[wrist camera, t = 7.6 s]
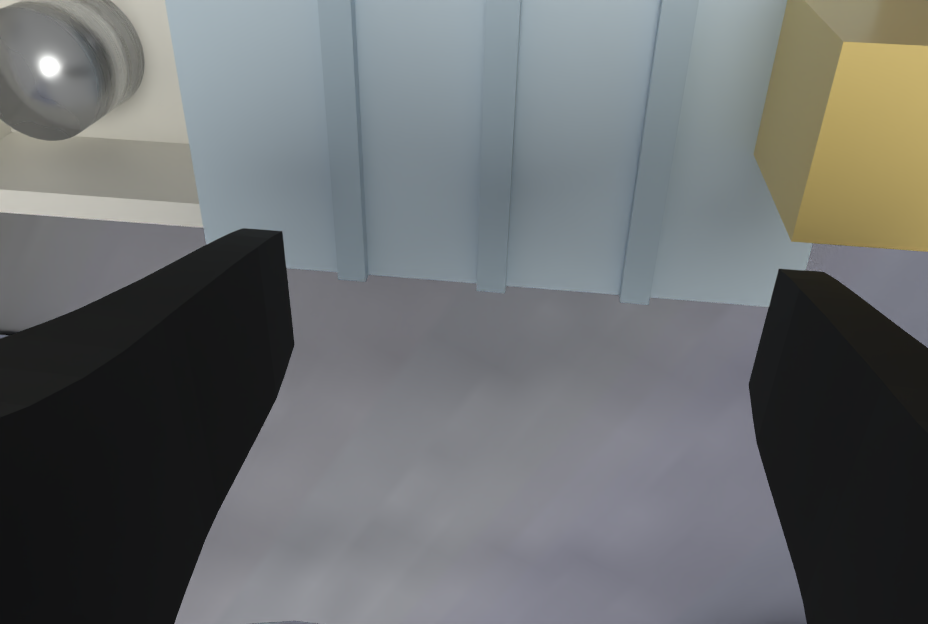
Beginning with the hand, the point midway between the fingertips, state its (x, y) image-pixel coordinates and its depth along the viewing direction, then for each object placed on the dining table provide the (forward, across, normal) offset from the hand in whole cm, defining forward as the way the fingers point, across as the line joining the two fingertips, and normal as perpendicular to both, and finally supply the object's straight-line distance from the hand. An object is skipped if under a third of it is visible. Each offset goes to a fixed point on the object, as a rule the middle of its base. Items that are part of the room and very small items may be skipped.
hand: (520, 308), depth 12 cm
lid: (+6, 0, -2) cm, 6 cm away
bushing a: (+9, +12, -1) cm, 15 cm away
